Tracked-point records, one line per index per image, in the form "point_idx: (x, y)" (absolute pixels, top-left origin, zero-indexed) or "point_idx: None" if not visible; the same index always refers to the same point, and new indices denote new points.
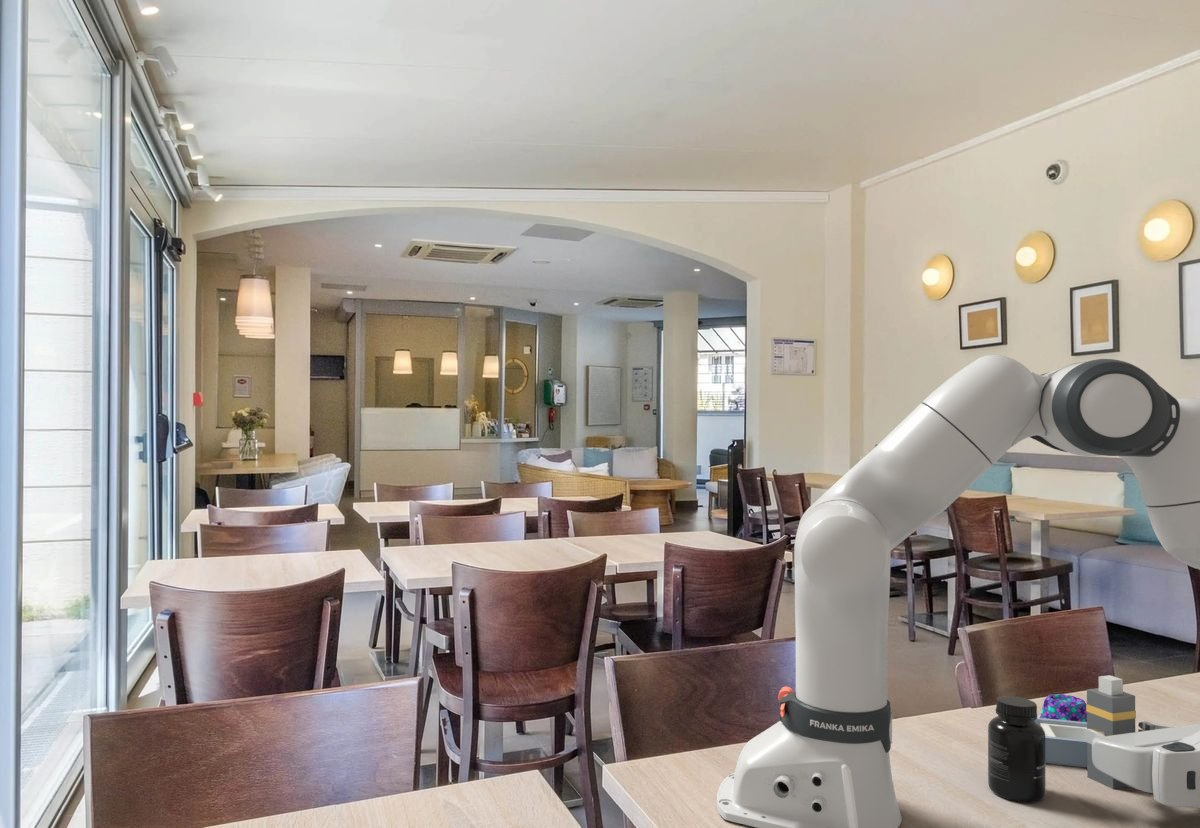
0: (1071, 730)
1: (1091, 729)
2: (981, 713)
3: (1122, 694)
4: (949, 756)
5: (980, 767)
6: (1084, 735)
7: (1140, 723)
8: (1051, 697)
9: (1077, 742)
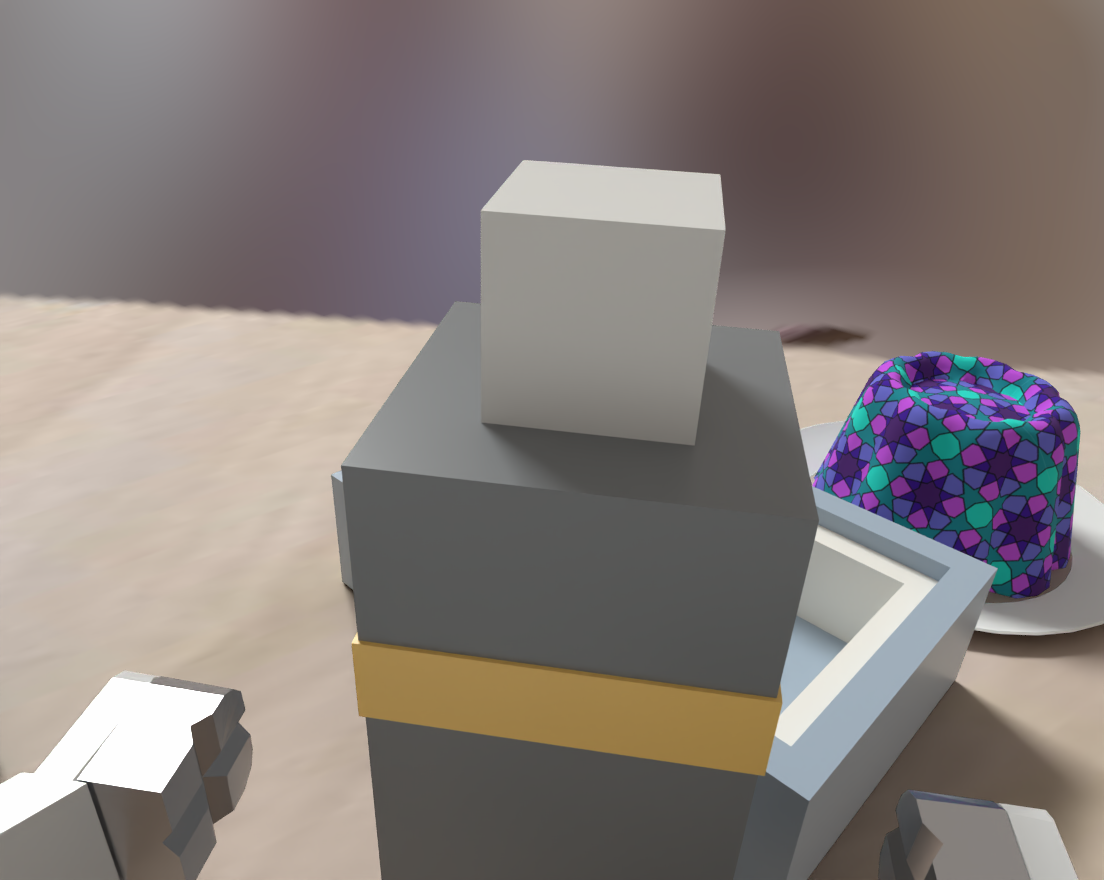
0: None
1: (129, 700)
2: None
3: (679, 448)
4: (158, 486)
5: (117, 579)
6: (851, 594)
7: (908, 810)
8: (918, 363)
9: None
